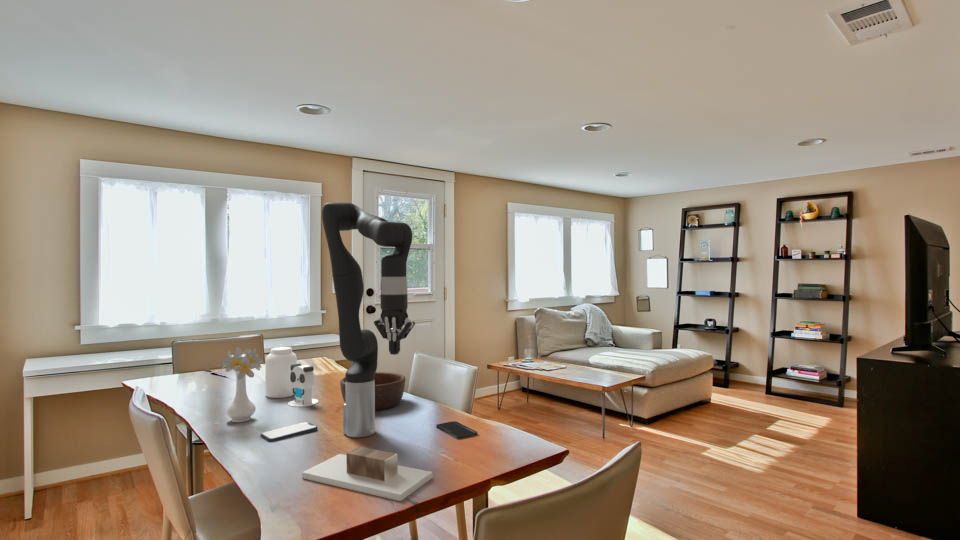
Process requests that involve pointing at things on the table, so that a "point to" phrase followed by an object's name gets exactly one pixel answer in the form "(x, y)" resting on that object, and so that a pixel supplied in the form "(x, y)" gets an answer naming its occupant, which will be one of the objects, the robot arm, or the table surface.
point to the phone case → (288, 431)
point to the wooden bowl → (384, 389)
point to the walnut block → (372, 463)
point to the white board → (368, 479)
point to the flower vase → (241, 383)
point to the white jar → (279, 372)
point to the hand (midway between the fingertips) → (394, 354)
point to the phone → (456, 430)
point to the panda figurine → (302, 385)
